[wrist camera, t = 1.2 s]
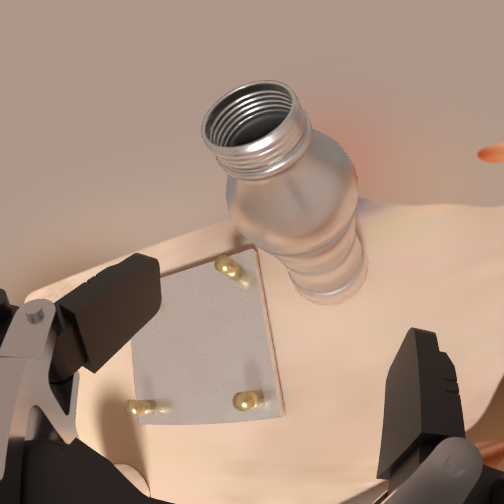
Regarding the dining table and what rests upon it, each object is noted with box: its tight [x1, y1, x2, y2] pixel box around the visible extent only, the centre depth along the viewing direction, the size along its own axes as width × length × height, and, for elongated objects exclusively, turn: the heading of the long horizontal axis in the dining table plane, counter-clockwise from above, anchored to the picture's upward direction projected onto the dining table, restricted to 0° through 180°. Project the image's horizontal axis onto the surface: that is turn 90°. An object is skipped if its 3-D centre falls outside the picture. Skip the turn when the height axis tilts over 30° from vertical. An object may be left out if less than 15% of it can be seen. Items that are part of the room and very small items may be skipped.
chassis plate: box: [125, 248, 285, 425], centre depth 28 cm, size 16×16×4 cm
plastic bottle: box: [201, 80, 368, 305], centre depth 19 cm, size 6×7×20 cm
